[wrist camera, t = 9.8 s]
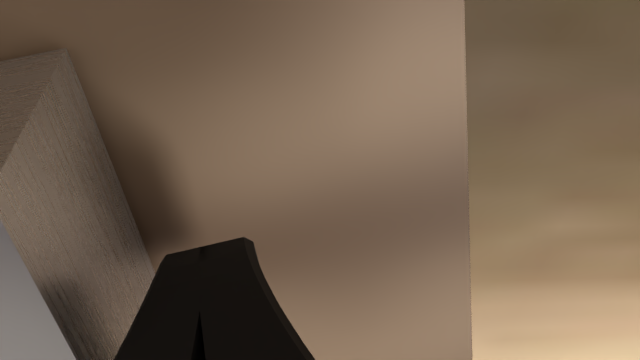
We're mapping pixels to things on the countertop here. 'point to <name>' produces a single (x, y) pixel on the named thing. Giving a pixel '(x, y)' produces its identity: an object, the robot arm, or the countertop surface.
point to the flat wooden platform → (290, 149)
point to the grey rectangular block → (62, 221)
